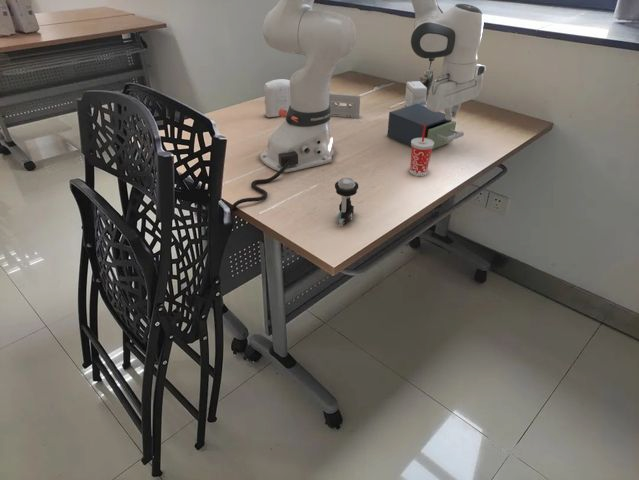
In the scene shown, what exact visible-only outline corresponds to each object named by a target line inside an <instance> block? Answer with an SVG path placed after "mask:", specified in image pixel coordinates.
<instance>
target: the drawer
mask: <svg viewBox="0 0 639 480" xmlns="http://www.w3.org/2000/svg"><path fill="white" fill-rule="evenodd" d="M456 125H457V121H455V120H452V121H451V122H449V123H448V120H447V121H444V122H442V123H439V124H436V125H433V126H430V127H427V128H426V131H425V138H428V139H431V140H432V141H433V142H434V146H433V148H432V150H434V149H437V148H439V147H442V146H444V145H447V144H449V143H451V142H454V140H457V139H459V138H463V136H464V135H465V134H464V132H463V131H457V130H456V127H457V126H456Z"/></svg>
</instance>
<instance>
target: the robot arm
mask: <svg viewBox="0 0 639 480" xmlns="http://www.w3.org/2000/svg"><path fill="white" fill-rule="evenodd" d="M410 1H411V4H412V8H413V11H414V18H415V20H414V26H413V30H412V33H411V38H410V46H411V49H412V51H413V53H414V54H415V55H416V56H418V57H419V58H422V59H429V58H435V59H438V58H443V60H442V61H443V62H442V68H441V75H440V76H437V77H436V78H435V80H434V81H432V85H431V87H430V90H429V94H428V95H427V98H426V101H427V104H426V107H427V109H428V110H430V111H433V112H441V111H442V112H443V111H444V114H446V115H445V119H446V120H452V121H453V120H454V119H456V118H457V115H458V112H459V110H460V109H461V106H462V104H463V103H466V102H468V101H470V100H471V101H472V100H473V99H476V98H478V97H479V96H480V94H481V91H482V86H483V82H484V74H485V73H486V70H487V66H486V65H484V64H481V63H478V51H479V48H480V46H481V43H482V36H483V31H484V14H483V12H482V11H481V9H480V8H478V7H476V6H474V5H471V4H468V3H467V4H466V3H456V4H454V6H452V7H451V8H449V9H447V10H446V11H443V10H442V9H441V7H440V6H439V4H438V1H437V0H410ZM314 3H315V0H279V1H278V2H277V3H276V5H275V6H274V7H273V8H272V9H271V10H269V11H268V13H267V14H266V15H265V18H264V21H263V24H262V33H263V37H264V40H265V42H266V44H267V46H268V47H270V48H272V49H275V50H277V51H280V52H282V53H286V54H292V55H301V56H305V58H306V59H305V60H306V61H305V66H303V67H302V68H300V69H297V70H296V71H295V72H294V73H293V74H292V75H291V77H290V79H289V80H290V82H289V84H290V106H289V109H288V112H287V111H286V110H284V109H280V110H279V111H278V112H279V115H280V116H279V117H282V118H285V120H284V121H283V122H282V123H281V124H280V126H279V127H278V128H277V129H276V130H275V131H274V132H273V133H272V134H271V135H270V136H269V138H268V141H267V150H265V151H262V152H260V157H259V159H260V161H261V162H262V163H263V164H264V165H266V166H267V167H268V168H270V169H272V170H274V171H277V172H276V173H275V174H274V175H272V176H270V177H268V178H264V179H263V178H262V179H255V180H253V181H252V182H251V184H250V187H251V188H252V189H253V190H255V191H257V192H259V193H261V194H262V195H261V196H257V197H256V196H255V197H254V196H253V197H244V198H241V199H238V200H236V201H235V202H233V204H231V206H230V208H229V210H231V211H230V212H234V210H235V209H236V208H237V206H239V205H241V204H244V203H251V202H261V201H263V200H265V199H266V198H268V192H267V191H266V190H265V189H264V188H261V187H259V186H258V185H257V184H267V183H271V182H272V181H274V180H276V179H277V178H278V177H279V176H281V175H282V174H283V173H291V172H297V171H299V170H304V169H309V168H312V167H317V166H322V165H327V164H330V163H332V161H333V158H332V157H333V156H334V154H335V149H334V146H333V142H334V141H333V140H334V138H333V137H332V136H331V135H332V134H331V128H330V127H331V126H330V125H331V124H330V120H331V119H332V118H331V117H332V116H331V108H330V105H329V93H330V89H331V80H332V76H333V73H334V71H335V69H336V67H337V65H338V64H339V63H340V62H341V61H342V60H343V59H344V58H346V57H347V56H348V55H349V54H350V53H352V51H353V49H354V47H355V43H356V41H357V29H356V25H355V23H354V21H353V20H352V18H351V17H350V16H348V15H346V14H342V13H339V12H337V11H333V10H332V11H331V10H322V9H321V10H320V9H313V7H314ZM242 336H243V337H244V336H246V332H244V333H243V334H242Z"/></svg>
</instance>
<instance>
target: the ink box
mask: <svg viewBox="0 0 639 480" xmlns="http://www.w3.org/2000/svg"><path fill="white" fill-rule="evenodd" d="M405 85H406V86H405V96H404V97H405V98H404V107H403V108H405V107H408V106H411V105H414V104H419V105H422V106H425V103H426V101H427V96H426V93H427V88H426V87H425V86H424V85H423V84H422V83H421V82H420V81H418V80H412V81H406V84H405Z"/></svg>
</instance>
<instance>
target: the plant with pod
mask: <svg viewBox="0 0 639 480" xmlns="http://www.w3.org/2000/svg"><path fill="white" fill-rule="evenodd" d="M435 60H436V58H428V61H429V68H428V69H427V70H425V71H424V72H423V73H422V74H421V76H420V77H419V78H418V80H417V81H420V82H421V83H422V84H423V85H424V86H425V87H426V88H427V93H426V97H428V94H429V90H430V87H431V85H432V83H433V80H434V72H433V71H434V70H431V66H432V64H433V62H434V61H435ZM426 104H427V100H426V103H425V107H426Z"/></svg>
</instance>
